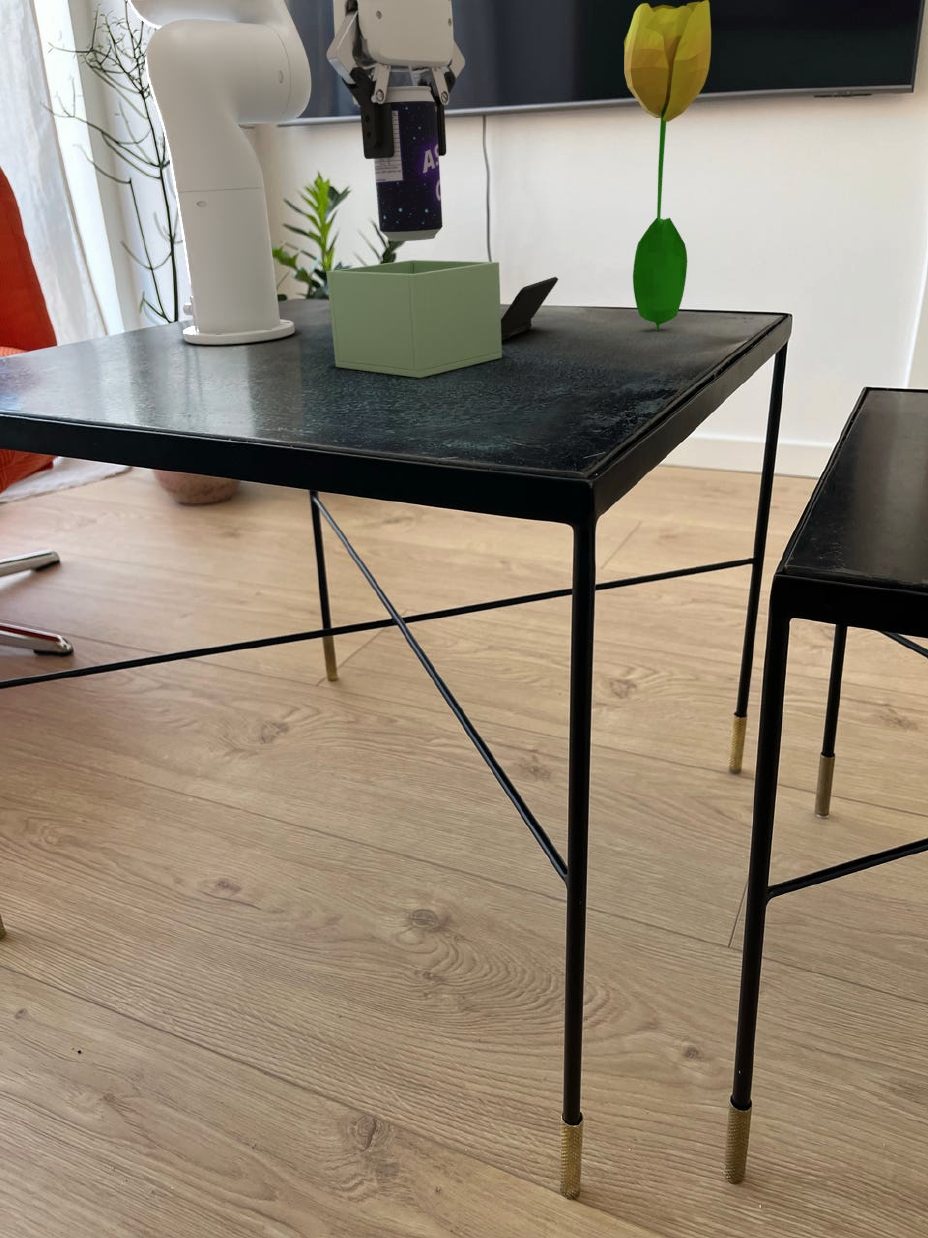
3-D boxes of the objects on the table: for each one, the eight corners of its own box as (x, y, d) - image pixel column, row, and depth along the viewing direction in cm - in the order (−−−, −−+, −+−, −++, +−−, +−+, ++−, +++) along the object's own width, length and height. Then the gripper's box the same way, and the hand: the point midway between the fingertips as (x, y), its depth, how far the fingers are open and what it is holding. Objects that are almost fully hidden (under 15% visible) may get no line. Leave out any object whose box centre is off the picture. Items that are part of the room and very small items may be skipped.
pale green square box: (335, 367, 93) (326, 271, 89) (418, 348, 100) (412, 259, 97) (419, 378, 86) (413, 274, 82) (502, 357, 93) (499, 261, 90)
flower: (617, 325, 108) (622, 9, 96) (691, 323, 107) (707, 3, 95) (620, 337, 101) (627, -5, 88) (700, 335, 100) (719, -12, 87)
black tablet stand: (463, 312, 111) (512, 237, 106) (514, 350, 112) (566, 278, 107) (437, 343, 102) (489, 263, 96) (492, 385, 103) (548, 308, 97)
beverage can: (435, 240, 85) (426, 83, 80) (372, 242, 86) (360, 88, 81) (449, 235, 90) (441, 88, 85) (389, 238, 91) (379, 92, 87)
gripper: (430, -70, 86) (442, 157, 94) (274, -100, 75) (302, 161, 82) (495, -88, 82) (502, 152, 89) (339, -122, 70) (362, 157, 78)
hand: (405, 154), depth 86 cm, fingers closed on beverage can, 5 cm apart
